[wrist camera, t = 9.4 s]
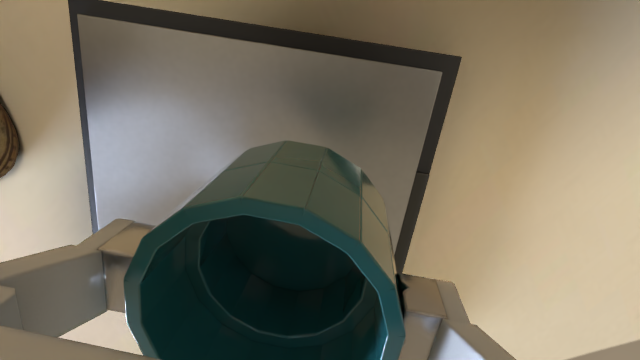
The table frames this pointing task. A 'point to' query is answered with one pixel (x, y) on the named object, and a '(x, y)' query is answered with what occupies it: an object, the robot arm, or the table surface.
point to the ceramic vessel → (7, 143)
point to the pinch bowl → (270, 265)
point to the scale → (245, 107)
